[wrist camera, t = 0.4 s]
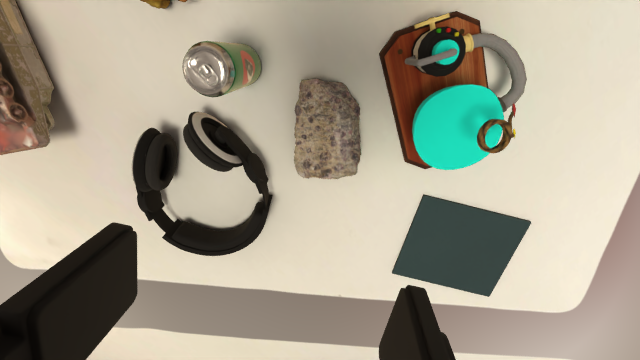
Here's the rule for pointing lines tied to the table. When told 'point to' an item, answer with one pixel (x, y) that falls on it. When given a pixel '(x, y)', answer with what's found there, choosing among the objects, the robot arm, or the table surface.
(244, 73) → the soda can
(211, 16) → the table surface
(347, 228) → the table surface
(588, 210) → the table surface
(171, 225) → the headphones
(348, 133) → the rock
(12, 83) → the decorative box
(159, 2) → the figurine
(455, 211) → the mat
